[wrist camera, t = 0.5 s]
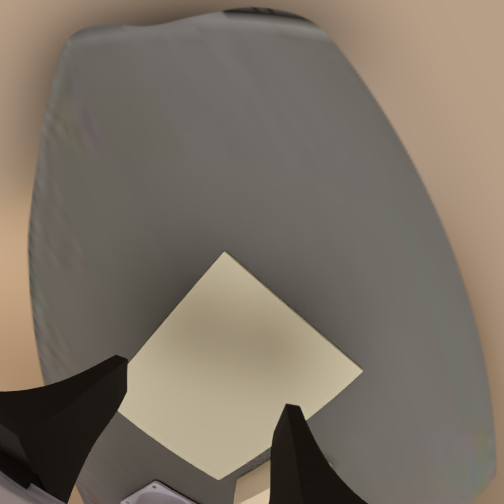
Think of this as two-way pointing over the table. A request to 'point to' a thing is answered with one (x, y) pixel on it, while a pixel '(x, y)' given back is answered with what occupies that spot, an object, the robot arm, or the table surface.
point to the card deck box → (254, 486)
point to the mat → (230, 371)
